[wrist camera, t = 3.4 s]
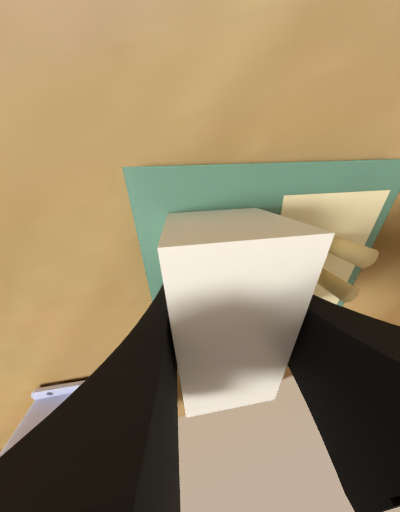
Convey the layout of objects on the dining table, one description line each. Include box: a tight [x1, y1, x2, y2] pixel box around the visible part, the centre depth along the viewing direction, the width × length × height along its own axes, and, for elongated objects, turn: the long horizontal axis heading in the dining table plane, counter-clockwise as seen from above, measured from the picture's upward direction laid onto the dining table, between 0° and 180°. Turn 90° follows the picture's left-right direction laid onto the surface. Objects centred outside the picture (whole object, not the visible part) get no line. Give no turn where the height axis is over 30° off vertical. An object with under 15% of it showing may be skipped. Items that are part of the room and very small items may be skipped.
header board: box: [122, 159, 400, 306], centre depth 10 cm, size 15×13×4 cm
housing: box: [157, 208, 335, 418], centre depth 8 cm, size 5×9×4 cm, turn 2°
